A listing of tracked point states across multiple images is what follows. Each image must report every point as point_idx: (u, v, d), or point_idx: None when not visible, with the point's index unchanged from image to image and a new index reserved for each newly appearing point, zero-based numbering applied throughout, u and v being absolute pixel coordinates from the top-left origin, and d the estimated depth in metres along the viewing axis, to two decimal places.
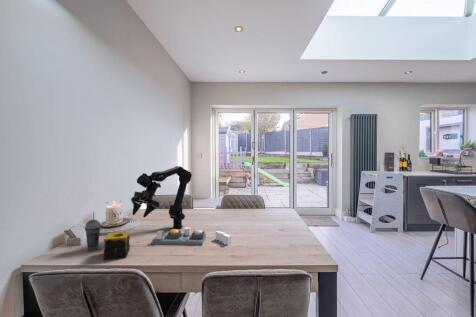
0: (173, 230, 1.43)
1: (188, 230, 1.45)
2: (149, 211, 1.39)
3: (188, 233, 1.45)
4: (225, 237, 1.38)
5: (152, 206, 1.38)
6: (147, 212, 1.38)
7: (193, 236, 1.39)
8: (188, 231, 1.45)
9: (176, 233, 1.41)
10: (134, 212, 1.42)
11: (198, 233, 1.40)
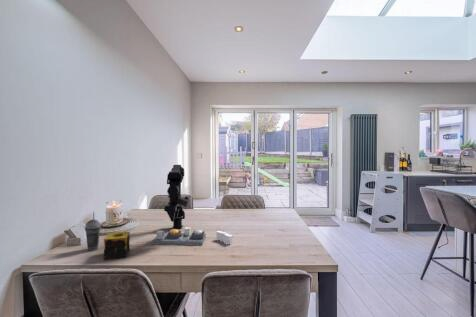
0: (173, 230, 1.43)
1: (188, 230, 1.45)
2: None
3: (188, 233, 1.45)
4: (227, 237, 1.38)
5: None
6: None
7: (193, 236, 1.39)
8: (188, 231, 1.45)
9: (176, 233, 1.41)
10: None
11: (198, 233, 1.40)
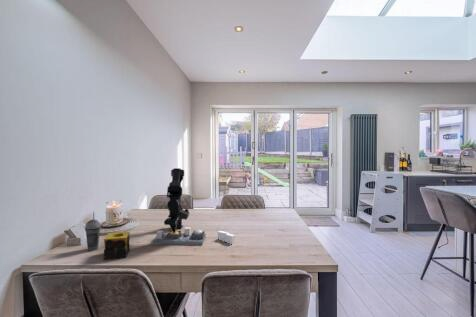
0: None
1: (188, 230, 1.45)
2: None
3: (188, 233, 1.45)
4: (229, 236, 1.38)
5: (177, 219, 1.46)
6: None
7: (193, 236, 1.39)
8: (188, 231, 1.45)
9: None
10: None
11: (198, 233, 1.40)
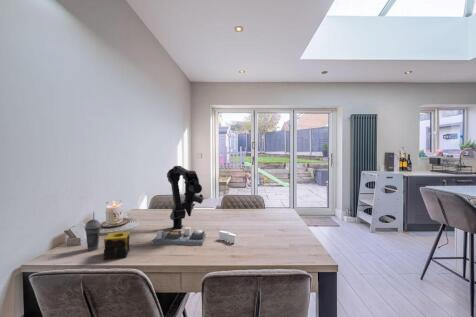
0: (173, 232, 1.43)
1: (188, 230, 1.45)
2: None
3: (188, 233, 1.45)
4: (231, 236, 1.39)
5: None
6: None
7: (193, 236, 1.39)
8: (188, 231, 1.45)
9: None
10: None
11: (198, 233, 1.40)
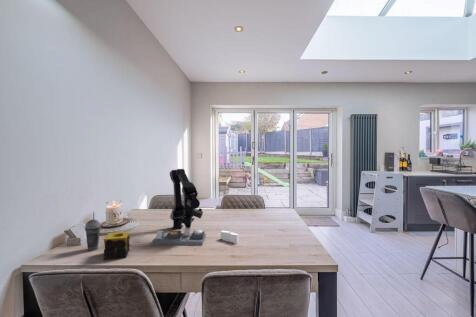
0: (173, 232, 1.43)
1: (188, 230, 1.44)
2: None
3: (188, 233, 1.44)
4: (233, 236, 1.40)
5: None
6: None
7: (193, 236, 1.39)
8: (188, 231, 1.44)
9: None
10: None
11: (198, 233, 1.40)
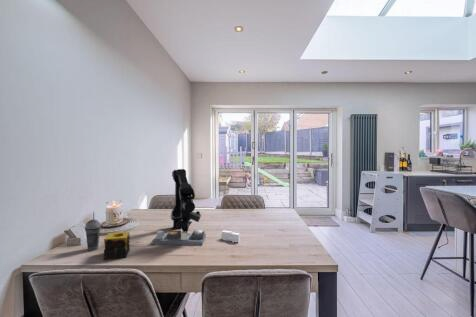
0: (173, 232, 1.43)
1: (185, 234, 1.37)
2: None
3: (185, 238, 1.37)
4: (235, 235, 1.40)
5: None
6: None
7: (193, 236, 1.39)
8: (185, 235, 1.37)
9: None
10: None
11: (198, 233, 1.40)
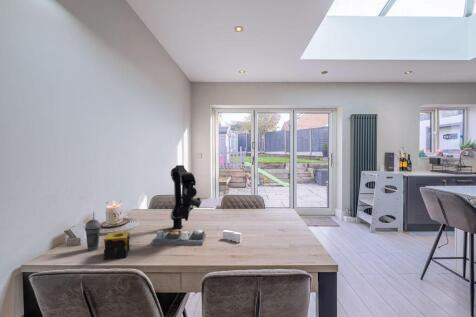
0: (173, 232, 1.43)
1: (185, 234, 1.37)
2: None
3: (185, 237, 1.37)
4: (237, 235, 1.41)
5: None
6: None
7: (193, 236, 1.39)
8: (185, 235, 1.37)
9: None
10: None
11: (198, 233, 1.40)
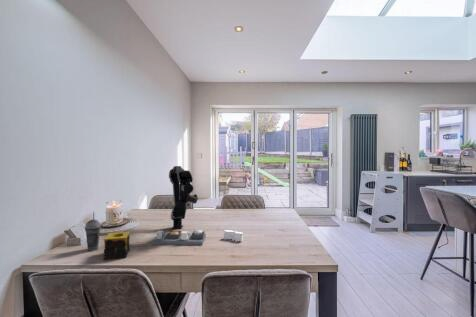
0: (173, 232, 1.43)
1: (185, 234, 1.37)
2: None
3: (185, 237, 1.37)
4: (238, 234, 1.42)
5: None
6: None
7: (193, 236, 1.39)
8: (185, 235, 1.37)
9: None
10: None
11: (198, 233, 1.40)
